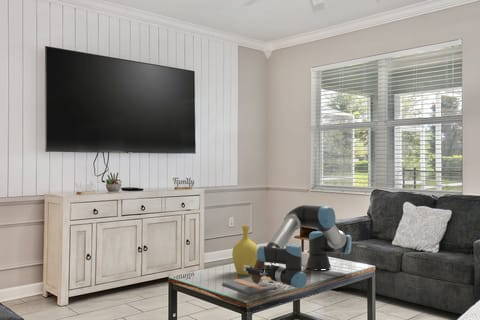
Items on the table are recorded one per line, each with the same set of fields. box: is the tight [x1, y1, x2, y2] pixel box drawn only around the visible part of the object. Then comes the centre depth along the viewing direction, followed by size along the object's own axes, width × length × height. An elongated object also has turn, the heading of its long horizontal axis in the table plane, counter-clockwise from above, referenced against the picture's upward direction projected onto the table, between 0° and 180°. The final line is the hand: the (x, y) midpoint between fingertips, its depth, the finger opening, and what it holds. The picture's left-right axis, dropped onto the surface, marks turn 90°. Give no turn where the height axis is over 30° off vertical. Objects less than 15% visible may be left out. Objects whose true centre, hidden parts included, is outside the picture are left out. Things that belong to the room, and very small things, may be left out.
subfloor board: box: [221, 277, 278, 296], centre depth 241 cm, size 18×24×2 cm
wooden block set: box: [250, 259, 269, 284], centre depth 236 cm, size 18×9×10 cm, turn 162°
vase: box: [231, 225, 259, 276], centre depth 273 cm, size 16×16×28 cm
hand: (251, 266), depth 241 cm, fingers open, 9 cm apart
